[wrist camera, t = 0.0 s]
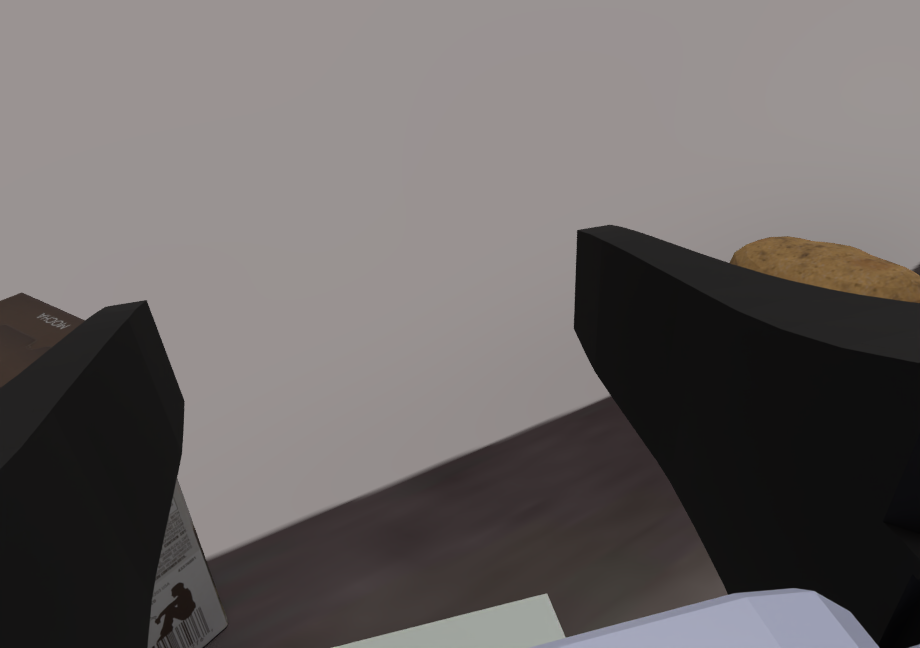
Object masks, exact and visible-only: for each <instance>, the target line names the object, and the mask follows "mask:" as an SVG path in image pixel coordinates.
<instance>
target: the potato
mask: <svg viewBox="0 0 920 648" xmlns="http://www.w3.org/2000/svg"><path fill="white" fill-rule="evenodd" d="M730 263H731V264H734V265H737V266H740V267H744V268H747V269H751V270H754V271H757V272H761V273H764V274H768V275H771V276H775V277H779V278H783V279H787V280H791V281H795V282H800V283H804V284H809V285H814V286H818V287H823V288H827V289H832V290H837V291H842V292H848V293H854V294H859V295H866V296H873V297H879V298H886V299H893V300H900V301H907V302H915V303H920V276H919V275H918V274H916V273H915V272H913V271H911V270H909V269H907V268H905V267H903V266H900V265H897V264H895V263H892V262H889V261H886V260H883V259H880V258H878V257H875V256H872V255H870V254H868V253H866V252H864V251H862V250H860V249H857V248H854V247H851V246H845V245H840V244H835V243H827V242H826V243H825V242H815V241H810V240H805V239H801V238H795V237H788V236H787V237H769V238H765V239H761V240H758V241H755V242H753V243H750V244H747V245H745V246H744V247H742V248H741V249H740V250H738V251H736V252H735V253H734V255H733V257H732V259H731V261H730Z"/></svg>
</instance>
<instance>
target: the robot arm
mask: <svg viewBox="0 0 920 648" xmlns="http://www.w3.org/2000/svg"><path fill="white" fill-rule="evenodd" d="M574 330H575V332H576V334H577V336H578V338H579V340H580V342H581V344H582V347H583V349H584V351H585V353H586V355H587V357H588V359H589V361H590V363H591V365H592V367H593V369H594V371H595V372H596V374H597V375H598V377H599V378H600V380H601V381H602V383H603V384H604V386H605V387H606V389H607V390H608V392H609V393H610V395H611V396H612V398H613V399H614V400H615V402H616V403H617V405H618V406H619V408H620V409H621V410H622V412H623V413H624V415H625V416H626V418H627V419H628V420H629V422H630V423H631V425H632V426H633V428H634V429H635V430H636V432H637V433H638V435H639V436H640V438H641V439H642V440H643V442H644V443H645V445H646V446H647V448H648V449H649V450H650V452H651V453H652V455H653V456H654V458H655V459H656V460H657V462H658V463H659V465H660V467H661V468H662V470H663V471H664V473H665V475H666V476H667V478H668V479H669V481H670V483H671V484H672V486H673V488H674V490H675V492H676V494H677V495H678V497H679V499H680V501H681V503H682V505H683V506H684V508H685V510H686V512H687V514H688V516H689V518H690V519H691V521H692V523H693V525H694V527H695V529H696V531H697V533H698V535H699V537H700V539H701V541H702V543H703V544H704V546H705V548H706V550H707V552H708V554H709V556H710V558H711V560H712V562H713V564H714V566H715V568H716V570H717V572H718V574H719V576H720V578H721V580H722V582H723V584H724V586H725V589H726V591H727V593H728V595H726V596H722V597H718V598H715V599H711V600H707V601H703V602H700V603H696V604H692V605H688V606H684V607H681V608H677V609H673V610H669V611H666V612H662V613H658V614H654V615H650V616H647V617H643V618H639V619H635V620H632V621H628V622H624V623H620V624H616V625H613V626H609V627H605V628H601V629H598V630H594V631H590V632H586V633H582V634H579V635H575V636H571V637H567V638H564V639H560V640H556V641H552V642H548V643H545V644H541V645H537V646H533V647H530V648H920V303H915V302H907V301H900V300H893V299H886V298H879V297H873V296H866V295H859V294H854V293H848V292H842V291H837V290H832V289H827V288H823V287H818V286H814V285H809V284H804V283H800V282H795V281H791V280H787V279H783V278H779V277H775V276H771V275H768V274H764V273H761V272H757V271H754V270H751V269H747V268H744V267H740V266H737V265H734V264H731V263H727V262H724V261H721V260H718V259H715V258H712V257H709V256H706V255H703V254H700V253H697V252H694V251H691V250H689V249H686V248H683V247H680V246H677V245H674V244H672V243H669V242H666V241H663V240H660V239H658V238H655V237H652V236H649V235H646V234H643V233H640V232H637V231H634V230H630V229H627V228H623V227H619V226H613V225H607V226H601V227H594V228H588V229H581V230H577V255H576V283H575V314H574ZM183 425H184V399H183V396H182V394H181V391H180V388H179V386H178V383H177V380H176V378H175V375H174V372H173V370H172V367H171V365H170V362H169V359H168V357H167V354H166V351H165V348H164V346H163V343H162V340H161V338H160V335H159V333H158V330H157V327H156V324H155V322H154V319H153V317H152V314H151V311H150V308H149V306H148V303H147V301H146V300H145V301H139V302H133V303H126V304H121V305H114V306H108V307H105V308H103V309H102V310H100V311H98V312H97V313H95V314H94V315H92V316H91V317H89V318H88V319H87V320H85V321H84V322H83V323H82V324H80V325H79V326H78V327H76V328H75V329H74V330H73V331H71V332H70V333H69V334H68V335H66V336H65V337H64V338H63V339H62V340H60V341H59V342H58V343H57V344H55V345H54V346H53V347H52V348H50V349H49V350H48V351H47V352H45V353H44V354H43V355H42V356H41V357H39V358H38V359H37V360H36V361H34V362H33V363H32V364H31V365H29V366H28V367H27V368H26V369H24V370H23V371H22V372H21V373H19V374H18V375H17V376H16V377H14V378H13V379H12V380H10V381H9V382H8V383H6V384H5V385H4V386H2V387H1V388H0V648H147V647H148V636H149V626H150V615H151V605H152V598H153V591H154V585H155V579H156V573H157V569H158V564H159V559H160V555H161V550H162V545H163V541H164V536H165V532H166V527H167V522H168V518H169V513H170V508H171V504H172V499H173V495H174V490H175V485H176V480H177V475H178V470H179V465H180V460H181V455H182V443H183Z"/></svg>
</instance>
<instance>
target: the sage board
mask: <svg viewBox="0 0 920 648" xmlns="http://www.w3.org/2000/svg"><path fill="white" fill-rule="evenodd" d="M564 638H565V635H564V633H563V631H562V628H561V626H560V623H559V621H558V619H557V616H556V614H555V611H554V609H553V607H552V604H551V602H550V600H549V597H548V595H547V594H543V595H539V596H535V597H531V598H527V599H523V600H519V601H515V602H511V603H507V604H503V605H500V606H496V607H492V608H488V609H484V610H480V611H476V612H472V613H468V614H464V615H460V616H456V617H452V618H448V619H444V620H440V621H436V622H432V623H428V624H424V625H420V626H416V627H412V628H409V629H405V630H401V631H397V632H393V633H389V634H385V635H381V636H377V637H373V638H369V639H365V640H361V641H357V642H353V643H349V644H345V645H341V646H337V647H333V648H530V647H533V646H537V645H541V644H545V643H548V642H552V641H556V640H560V639H564Z"/></svg>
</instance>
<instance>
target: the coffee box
mask: <svg viewBox="0 0 920 648" xmlns="http://www.w3.org/2000/svg"><path fill="white" fill-rule="evenodd" d="M84 321H85V320H82V319H80V318H78V317H76V316H74V315H71V314H69V313H67V312H64V311H62V310H60V309H58V308H56V307H53V306H51V305H49V304H46V303H44V302H42V301H40V300H38V299H35V298H33V297H31V296H28V295H26V294H24V293H19V294H17V295H14V296H12V297H9V298H7V299H4V300H1V301H0V388H1V387H2V386H4V385H5V384H6V383H8V382H9V381H10V380H12V379H13V378H14V377H16V376H17V375H18V374H19V373H21V372H22V371H23V370H24V369H26V368H27V367H28V366H29V365H31V364H32V363H33V362H34V361H36V360H37V359H38V358H39V357H41V356H42V355H43V354H44V353H45V352H47V351H48V350H49V349H50V348H52V347H53V346H54V345H55V344H57V343H58V342H59V341H60V340H62V339H63V338H64V337H65V336H66V335H68V334H69V333H70V332H71V331H73V330H74V329H75V328H76V327H78V326H79V325H80V324H82V323H83V322H84ZM227 625H228V620H227V617H226V614H225V611H224V609H223V606H222V603H221V601H220V598H219V595H218V592H217V589H216V587H215V584H214V581H213V578H212V576H211V573H210V570H209V567H208V564H207V561H206V559H205V556H204V553H203V550H202V548H201V545H200V542H199V539H198V536H197V533H196V530H195V528H194V525H193V522H192V519H191V516H190V513H189V510H188V508H187V505H186V502H185V499H184V496H183V494H182V491H181V488H180V485H179V482H178V479H177V480H176V485H175V490H174V495H173V499H172V504H171V508H170V513H169V518H168V522H167V527H166V532H165V536H164V541H163V545H162V550H161V555H160V559H159V564H158V569H157V573H156V579H155V585H154V591H153V598H152V605H151V615H150V626H149V636H148V647H147V648H203V647H204V646H205V645H206V644H207V643H208V642H210V641H211V640H212V639H213V638H214V637H215V636H216V635H218V634H219V633H220V632H221V631H222V630H223V629H224V628H225V627H226V626H227Z"/></svg>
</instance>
